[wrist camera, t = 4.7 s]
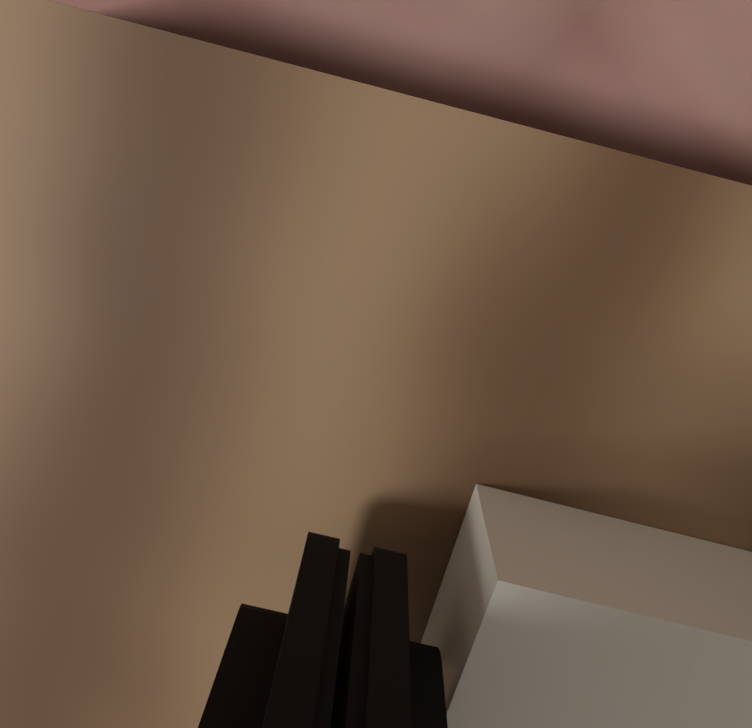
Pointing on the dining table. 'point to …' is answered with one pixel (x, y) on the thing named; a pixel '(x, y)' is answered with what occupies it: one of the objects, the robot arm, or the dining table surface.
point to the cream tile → (590, 622)
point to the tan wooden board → (319, 347)
